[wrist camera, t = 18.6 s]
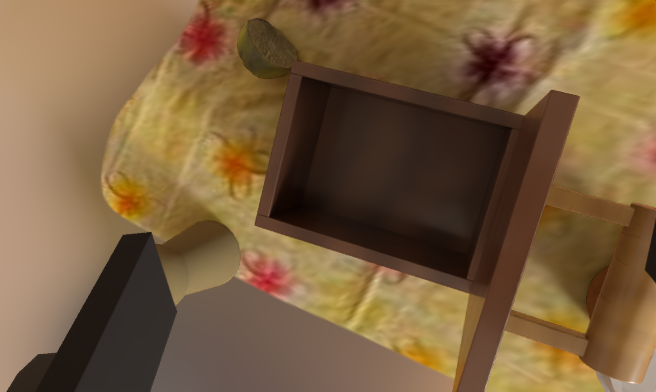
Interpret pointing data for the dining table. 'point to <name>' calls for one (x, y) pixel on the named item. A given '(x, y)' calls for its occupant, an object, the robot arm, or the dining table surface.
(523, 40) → the dining table surface
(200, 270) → the tan rounded upright piece
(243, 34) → the lime
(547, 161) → the lid
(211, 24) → the dining table surface
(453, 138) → the box
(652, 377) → the disposable coffee cup
